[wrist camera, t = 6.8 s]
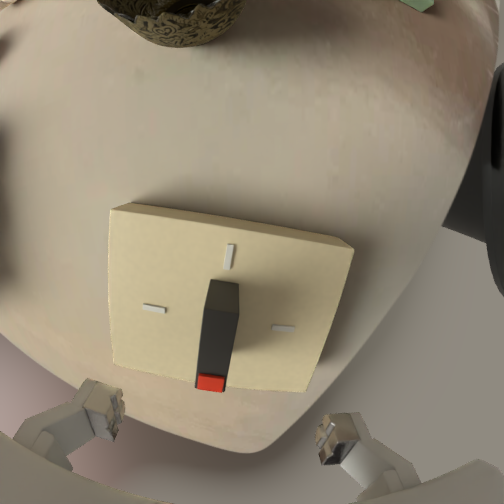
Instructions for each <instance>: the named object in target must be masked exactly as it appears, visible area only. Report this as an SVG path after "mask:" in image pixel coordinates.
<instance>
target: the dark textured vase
mask: <svg viewBox="0 0 504 504" xmlns="http://www.w3.org/2000/svg"><path fill="white" fill-rule="evenodd" d="M97 2H98V3H99V4H100V5H101V6H102V7H103V8H104V9H105V10H107V11H108V12H110V13H111V14H112V15H114V16H115V17H116V18H118V19H119V20H120V21H121V22H123V23H124V24H125V25H126V26H128V27H129V28H130V29H132V30H133V31H134V32H136V33H137V34H138V35H140V36H141V37H143V38H145V39H146V40H148V41H150V42H153V43H155V44H158V45H161V46H166V47H175V48H183V47H193V46H199V45H202V44H205V43H207V42H208V41H211V40H213V39H215V38H217V37H218V36H220V35H221V34H223V33H224V32H225V31H227V30H228V29H229V28H230V27H231V26H232V25H233V24H234V23H235V21H236V20H237V19H238V17H239V16H240V14H241V12H242V10H243V8H244V6H245V3H246V0H97Z"/></svg>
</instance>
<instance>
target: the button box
mask: <svg viewBox="0 0 504 504" xmlns="http://www.w3.org/2000/svg"><path fill="white" fill-rule="evenodd" d="M400 1H402V2H404V3H406V4H407V5H409V6H411V7H413V8H415V9H416V10H418V11H420V12H423V11H424V10H426V9H427V8H429V7H430V6H432V5H433V4H434V0H400Z"/></svg>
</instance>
